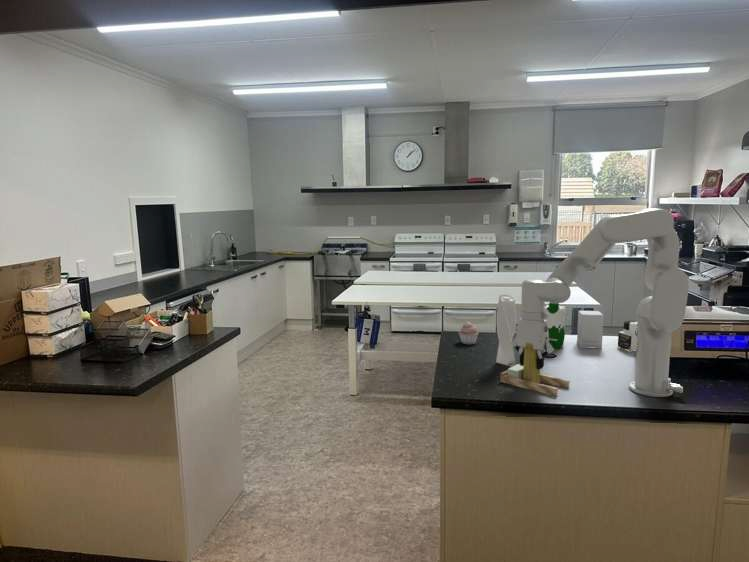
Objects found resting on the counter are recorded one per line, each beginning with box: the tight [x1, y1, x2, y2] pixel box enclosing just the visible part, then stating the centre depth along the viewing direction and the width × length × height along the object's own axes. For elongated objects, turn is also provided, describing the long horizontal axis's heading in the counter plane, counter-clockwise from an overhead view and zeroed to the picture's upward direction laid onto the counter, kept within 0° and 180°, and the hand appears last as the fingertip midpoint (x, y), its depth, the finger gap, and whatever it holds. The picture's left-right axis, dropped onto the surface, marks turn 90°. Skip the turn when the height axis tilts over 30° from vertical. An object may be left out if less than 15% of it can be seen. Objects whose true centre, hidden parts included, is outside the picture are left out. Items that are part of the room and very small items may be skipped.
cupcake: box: [458, 321, 480, 345], centre depth 222 cm, size 9×9×10 cm
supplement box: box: [576, 310, 604, 349], centre depth 213 cm, size 9×9×15 cm
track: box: [499, 369, 571, 397], centre depth 168 cm, size 20×10×3 cm, turn 46°
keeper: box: [507, 364, 523, 379], centre depth 172 cm, size 4×7×4 cm, turn 136°
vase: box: [522, 343, 542, 384], centre depth 168 cm, size 6×6×14 cm
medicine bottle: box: [617, 320, 638, 352], centre depth 208 cm, size 7×7×12 cm
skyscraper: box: [495, 294, 520, 368], centre depth 190 cm, size 8×8×28 cm
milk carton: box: [544, 302, 566, 351], centre depth 212 cm, size 9×9×20 cm
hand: (531, 366), depth 168 cm, fingers closed on vase, 5 cm apart
